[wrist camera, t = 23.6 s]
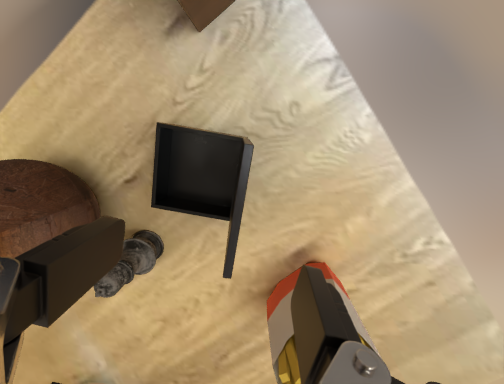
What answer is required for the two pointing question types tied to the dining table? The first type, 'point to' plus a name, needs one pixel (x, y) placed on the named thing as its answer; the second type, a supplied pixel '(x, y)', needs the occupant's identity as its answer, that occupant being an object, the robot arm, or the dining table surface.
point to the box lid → (238, 205)
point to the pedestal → (203, 10)
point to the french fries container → (283, 325)
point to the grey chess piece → (131, 262)
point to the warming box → (195, 170)
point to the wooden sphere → (40, 204)
